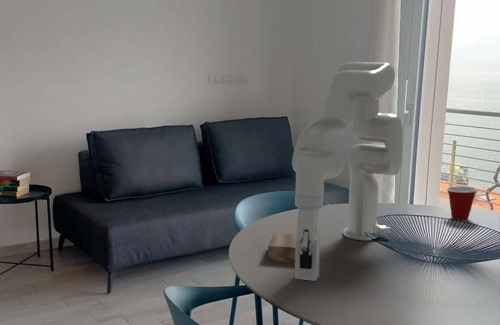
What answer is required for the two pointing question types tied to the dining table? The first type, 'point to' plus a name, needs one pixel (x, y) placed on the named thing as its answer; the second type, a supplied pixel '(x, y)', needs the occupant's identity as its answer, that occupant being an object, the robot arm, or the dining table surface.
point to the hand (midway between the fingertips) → (307, 263)
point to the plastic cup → (461, 201)
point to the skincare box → (314, 271)
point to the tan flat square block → (282, 248)
